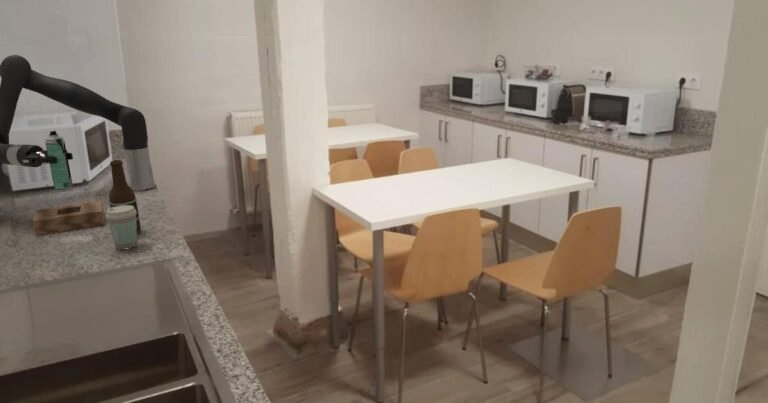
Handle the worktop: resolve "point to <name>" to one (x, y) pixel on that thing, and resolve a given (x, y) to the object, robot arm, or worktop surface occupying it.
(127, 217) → the coffee cup
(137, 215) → the beer bottle
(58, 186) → the spray can
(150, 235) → the worktop surface
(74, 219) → the block
